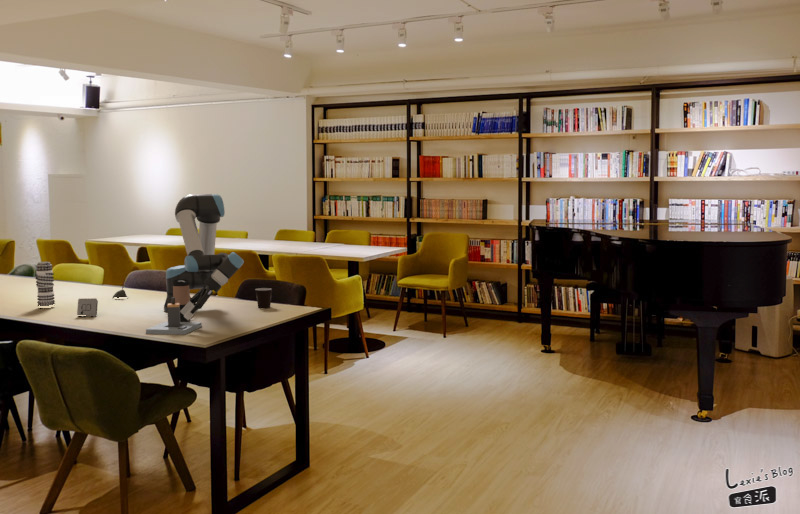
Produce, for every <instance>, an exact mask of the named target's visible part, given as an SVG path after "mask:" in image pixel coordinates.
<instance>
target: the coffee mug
mask: <svg viewBox="0 0 800 514" xmlns="http://www.w3.org/2000/svg"><path fill="white" fill-rule="evenodd" d="M272 293H273V288H269V287H261V288H259V287H258V288H255V296H256V301H257V308H258V309H259V308H267V309H270V308H271V303H272Z"/></svg>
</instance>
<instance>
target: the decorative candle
mask: <svg viewBox="0 0 800 514" xmlns="http://www.w3.org/2000/svg"><path fill="white" fill-rule="evenodd" d="M35 266H36V271H35V272H36V274H35V275H34V276H35V280H36V281H35V283H36V288H37V296H36V297H37V301H36V303H37V307H38V306H39V305H40V306H49V305H53V304H55V305H56V303H55V302H56V301H55V297H54V296H55V291H54V286H55V284H54V283H53V282H55V280H54V278H55V277H54V275H55V273H54V271H53V264H51V262H50V261H40V262H38V263H37V264H36V265H35Z"/></svg>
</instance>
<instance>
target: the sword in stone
mask: <svg viewBox="0 0 800 514" xmlns="http://www.w3.org/2000/svg"><path fill="white" fill-rule="evenodd" d="M125 280H126V279H125V278H124V279H123V283H122V285H121V288H122V289H120V290H118V291H116V292H115V293H114V295H112V298H113V297H117V298H119V297H128V296H127V293H126V291H125V290H124V288H125Z"/></svg>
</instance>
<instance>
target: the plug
mask: <svg viewBox="0 0 800 514" xmlns="http://www.w3.org/2000/svg"><path fill="white" fill-rule="evenodd" d="M171 301H172V303H168V305H167V310H168V312H167V322H168V327H180V303H175V297H172V298H171Z"/></svg>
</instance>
